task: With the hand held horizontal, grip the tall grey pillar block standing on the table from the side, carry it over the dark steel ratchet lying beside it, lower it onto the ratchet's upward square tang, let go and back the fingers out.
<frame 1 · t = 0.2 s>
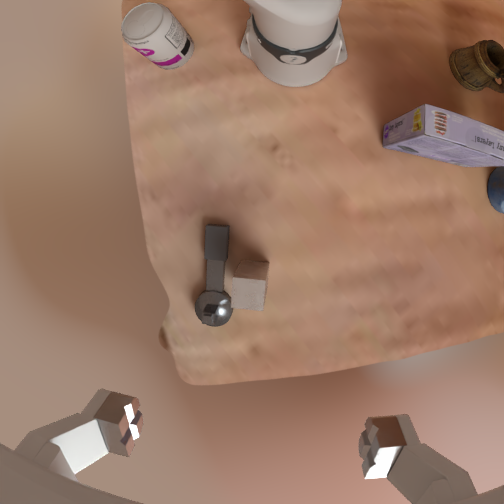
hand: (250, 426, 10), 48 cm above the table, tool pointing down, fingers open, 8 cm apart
cake pan box: (429, 145, 50), on the table
wooden mug: (471, 80, 45), on the table
ratchet: (215, 305, 61), on the table
supplement can: (174, 51, 50), on the table
tall grey pillar block: (254, 274, 59), on the table
bottle: (502, 189, 49), on the table
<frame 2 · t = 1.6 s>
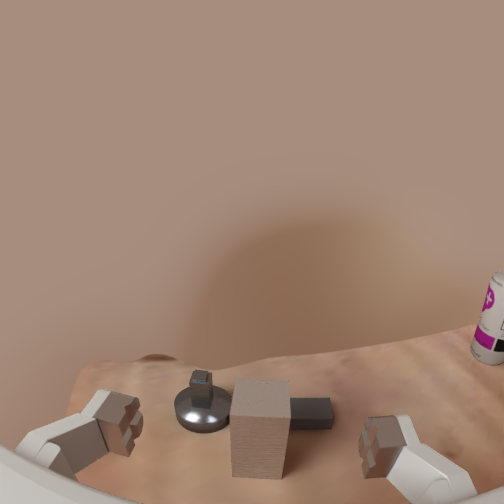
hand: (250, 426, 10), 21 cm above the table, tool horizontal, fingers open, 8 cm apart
ratchet: (204, 413, 36), on the table
supplement can: (487, 355, 44), on the table
tall grey pillar block: (257, 460, 29), on the table
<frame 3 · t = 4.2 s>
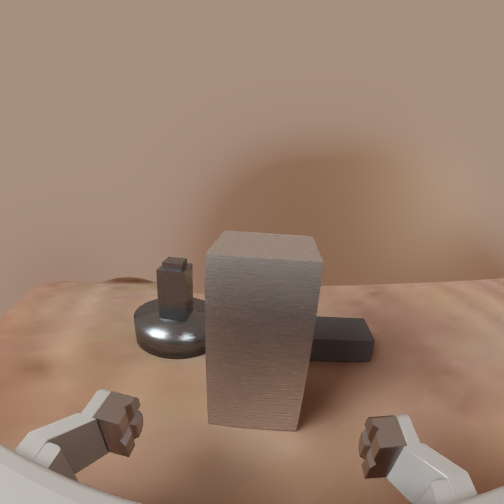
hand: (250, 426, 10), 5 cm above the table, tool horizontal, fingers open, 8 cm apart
ratchet: (177, 335, 26), on the table
tall grey pillar block: (255, 400, 19), on the table
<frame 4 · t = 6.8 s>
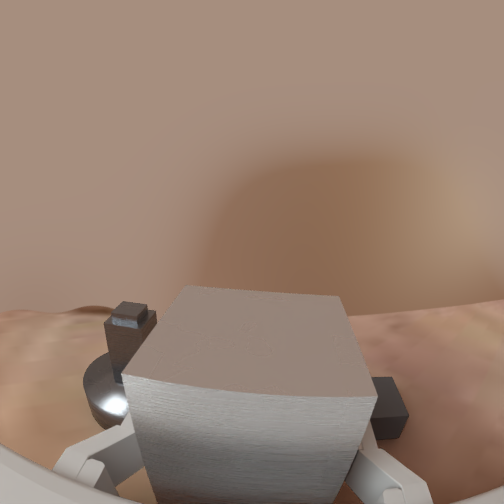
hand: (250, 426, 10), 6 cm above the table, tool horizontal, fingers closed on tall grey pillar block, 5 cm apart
ratchet: (143, 400, 18), on the table
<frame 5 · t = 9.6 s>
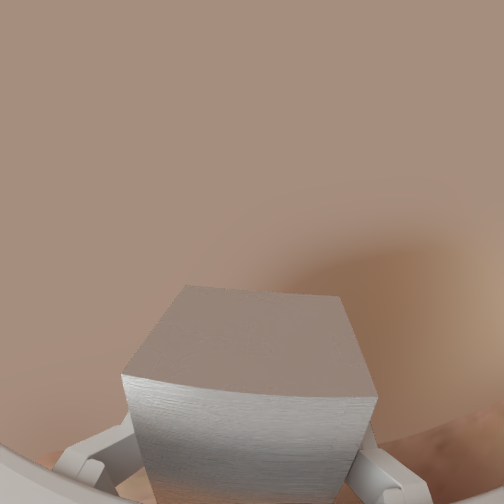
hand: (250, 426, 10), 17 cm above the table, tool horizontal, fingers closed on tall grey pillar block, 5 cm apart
when the fingers open (8 cm above the table, at t = 12.4 s): tall grey pillar block stays where it is, resting on ratchet.
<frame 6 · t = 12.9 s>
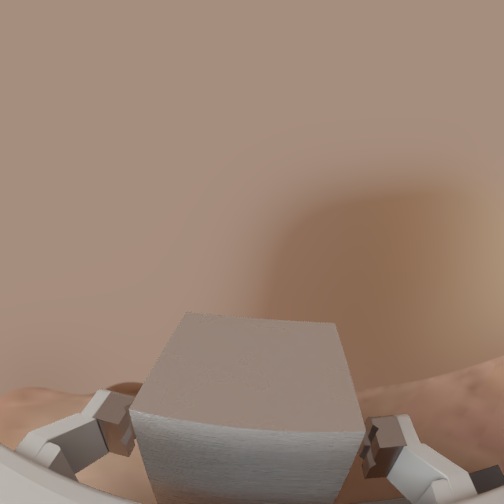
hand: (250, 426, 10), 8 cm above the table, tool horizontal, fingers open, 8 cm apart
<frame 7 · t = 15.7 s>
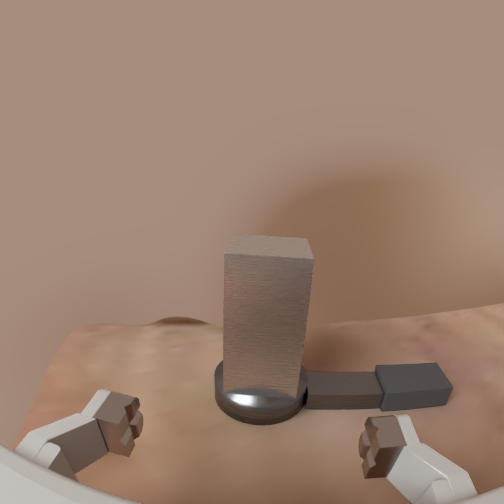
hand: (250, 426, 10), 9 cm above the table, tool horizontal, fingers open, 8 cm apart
ratchet: (259, 394, 24), on the table
tall grey pillar block: (261, 375, 23), point 2 cm above the table, touching ratchet
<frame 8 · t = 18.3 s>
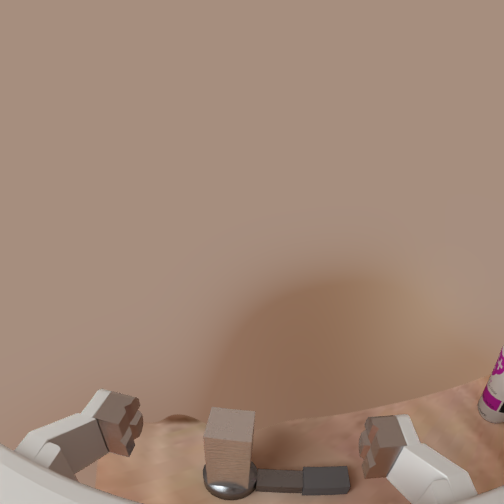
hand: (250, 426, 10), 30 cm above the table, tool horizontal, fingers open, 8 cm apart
ratchet: (230, 480, 35), on the table
supplement can: (492, 412, 42), on the table
tall grey pillar block: (230, 472, 34), point 2 cm above the table, touching ratchet
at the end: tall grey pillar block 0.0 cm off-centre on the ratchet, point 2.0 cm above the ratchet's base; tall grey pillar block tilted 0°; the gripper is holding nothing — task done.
